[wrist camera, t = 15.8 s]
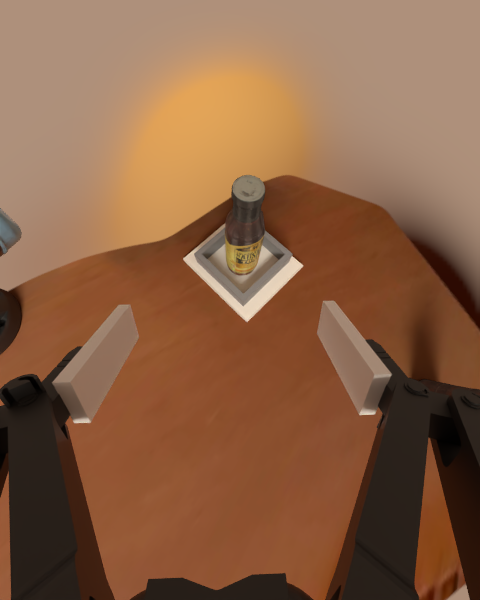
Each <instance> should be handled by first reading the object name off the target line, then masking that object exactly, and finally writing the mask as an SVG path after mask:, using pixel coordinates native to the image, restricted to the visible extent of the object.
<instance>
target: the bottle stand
mask: <svg viewBox="0 0 480 600" xmlns="http://www.w3.org/2000/svg"><path fill="white" fill-rule="evenodd" d="M292 255H293V254H292V253H291V252H290V251H289V250H287V249H286V248H285V247H284V246H283V245H282V244H280V243H279V242H278V241H277V240H276V239H275V238H273V237H272V236H271V235H270V234H269V233H268V232H266V231H265V234H264V239H263V243H262V247H261V251H260V256H259V260H258V263H257V266H256V267H255V269H254V270H253V271H252V272H251V273H250V274H248V275H242V276H241V275H236V274H234V273H232V272H231V271H230V270H229V268H228V266H227V262H226V247H225V224H223V225H222V226H221V227H220V228H219V229H218V230H216V231H215V232H214V233H213V234H212V235H211V236H209V237H208V238H207V239H206V240H205V241H203V242H202V243H201V244H200V245H199V246H198V247H196V248H195V249H194V250H193V251H192V252H190V253H189V254H188V255H187V256H186V257H185V258H183V260H184V261H185V262H186V263H187V264H188V265H189V266H190V267H191V268H192V269H193V270H194V271H195V272H196V273H197V274H198V275H199V276H200V277H201V278H202V279H203V280H204V281H205V282H206V283H207V284H208V285H209V286H210V287H211V288H212V289H213V290H214V291H215V292H216V293H217V294H218V295H219V296H220V297H221V298H222V299H223V300H224V301H225V302H226V303H227V304H228V305H229V306H230V307H231V308H233V309H234V310H235V311H236V312H237V313H238V314H239V315H240V316H241V317H242V318H243V319H244V320H245V321H246V322H248V321H249V320H250V319H251V318H252V317H253V316H254V315H255V314H256V313H257V312H258V311H259V310H260V309H261V308H262V307H263V306H264V305H265V304H266V303H267V302H268V301H269V300H270V299H271V298H272V297H273V296H274V295H275V294H276V293H277V292H278V291H279V290H280V289H281V288H282V287H283V286H284V285H285V284H286V283H287V282H288V281H289V280H290V279H291V278H292V277H293V276H294V275H295V274H296V273H297V272H298V271H299V270H300V269H301V268H302V267H303V265H302V264H301V263H300V262H298V261H297V260H296V259H295V258H294V257H293V256H292Z"/></svg>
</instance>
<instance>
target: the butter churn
mask: <svg viewBox="0 0 480 600" xmlns="http://www.w3.org/2000/svg"><path fill="white" fill-rule="evenodd" d="M419 382H421V383H423V384H424V385H425V386H426V387H428V389H429V390H430V391H432V392H436V393H441V394H445V395H450V394H451V392H452V391H453V390H454V389H466V390H469V391H471V392H474V393H476V394H478V395H479V396H480V390H479V389H471V388H466V387H461V386H455V385H450V384H446V383H441V382H436V381H431V380H427V379H422V380H420V381H419Z"/></svg>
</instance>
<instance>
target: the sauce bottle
mask: <svg viewBox="0 0 480 600" xmlns="http://www.w3.org/2000/svg"><path fill="white" fill-rule="evenodd" d="M264 196H265V186H264V184H263V182H262V181H261V180H260V179H259V178H257V177H255V176H251V175H245V176H241V177H239V178H238V179H236V180H235V181H234V183H233V186H232V199H233V209H232V210H231V211H230V212H229V213H228V215H227V218H226V221H225V247H226V262H227V266H228V268H229V270H230V271H231V272H232V273H234V274H236V275H241V276H242V275H248V274H250V273H251V272H252V271H253V270H254V269H255V267H256V266H257V263H258V260H259V256H260V251H261V247H262V243H263V239H264V234H265V227H264V218H263V212H262V211H261V204H262V202H263V200H264Z"/></svg>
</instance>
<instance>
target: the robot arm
mask: <svg viewBox="0 0 480 600" xmlns="http://www.w3.org/2000/svg"><path fill="white" fill-rule="evenodd" d="M20 238H21V230H20V228H19V226H18V225H17V224H16V223H15V222H14V221H13V220H12V219H11V218H10V217H9V216H8V215H7V214H6V213H4V211H3V210H2V209H1V208H0V256H2V255H3V254H5V253H7V251H8V249H9V248H11V247H12V246H13V245H14V244H15V243H16V242H18V240H20ZM20 322H21V310H20V306H19V304H18V302H17V300H16V298H15V297H14V296H13V295H12V294H10V293H9V292H7V291H5V290H2V289H0V354H1V353H3V352H4V351H5V350H6V349H7V348H8V346H9V345H10V344H11V343H12V341H13V340H14V338H15V336H16V334H17V332H18V330H19V326H20ZM317 334H318V336H319V338H320V340H321V342H322V344H323V346H324V348H325V350H326V352H327V354H328V355H329V357H330V359H331V361H332V363H333V365H334V367H335V369H336V371H337V373H338V375H339V377H340V379H341V380H342V382H343V384H344V386H345V388H346V390H347V392H348V394H349V396H350V398H351V400H352V402H353V403H354V405H355V407H356V409H357V411H358V413H359V415H373V414H375V413H376V410H377V408H378V407H379V408H380V410H381V411H382V413H383V414H382V417H381V419H380V421H379V423H378V426H377V428H378V429H377V433H376V436H375V440H374V443H373V446H372V450H371V453H370V456H369V460H368V463H367V467H366V470H365V473H364V477H363V480H362V483H361V487H360V490H359V494H358V497H357V500H356V504H355V507H354V510H353V514H352V517H351V520H350V524H349V527H348V531H347V534H346V537H345V541H344V544H343V547H342V551H341V554H340V558H339V561H338V564H337V568H336V571H335V573H334V576H333V579H332V581H331V584H330V587H329V590H328V593H327V596H326V599H325V600H419V596H418V594H417V592H416V590H415V585H414V579H415V568H416V557H417V547H418V537H419V527H420V517H421V506H422V496H423V486H424V476H425V465H426V455H427V445H428V437H429V438H430V439H431V443H432V447H433V451H434V455H435V460H436V464H437V468H438V472H439V476H440V480H441V484H442V488H443V492H444V496H445V500H446V504H447V508H448V512H449V516H450V520H451V524H452V529H453V533H454V537H455V541H456V545H457V549H458V553H459V557H460V561H461V565H462V569H463V573H464V577H465V581H466V585H467V589H468V593H469V597H470V600H480V396H479V395H478V394H476V393H474V392H471V391H469V390H466V389H454V390H453V391H452V392H451V394H450V395H445V394H441V393H436V392H432V391H430V390H429V389H428V387H426V386H425V385H424V384H423V383H421V382H419V381H417V380H414V379H411V378H408V377H407V376H406V375H405V374H404V372H403V371H402V370H401V369H400V368H399V366H398V365H397V364H396V363H395V362H394V361H393V359H391V357H390V356H389V355H388V354H387V353H386V351H385V350H384V349H383V348H382V347H381V345H379V344H378V343H376V342H375V341H373V340H365V339H364V338H363V337H362V336H361V334H360V333H359V332H358V330H357V329H356V328H355V327H354V325H353V324H352V323H351V322H350V320H349V319H348V318H347V316H346V315H345V314H344V313H343V311H342V310H341V309H340V308H339V306H338V305H337V304H336V302H335V301H323V304H322V310H321V315H320V320H319V326H318V331H317ZM138 338H139V335H138V332H137V328H136V324H135V321H134V317H133V313H132V309H131V306H130V305H118V306H117V308H116V309H115V310H114V311H113V312H112V313H111V315H110V316H109V317H108V318H107V319H106V320H105V322H104V323H103V324H102V325H101V326H100V327H99V329H98V330H97V331H96V332H95V333H94V334H93V336H92V337H91V338H90V339H89V340H88V341H87V342H86V344H85V345H84V346H82V347H76V348H75V349H74V350H72V351H71V352H69V353H68V354H67V355H66V356H65V357H64V358H63V359H62V361H61V362H60V363H59V364H58V365H57V367H55V368H54V369H53V370H52V372H51V373H50V374H49V375H48V376H47V377H46V378H45V379H44V380H43V381H42V383H41V381H40V379H39V378H38V376H37V375H34V374H27V375H23V376H20V377H17V378H15V379H13V380H11V381H9V382H8V383H7V384H5V385H4V386H3V387H2V388H1V389H0V399H1V400H2V402H3V403H4V404H5V405H3V406H0V497H1V493H2V490H3V487H4V483H5V480H6V477H7V474H8V470H9V510H10V559H11V600H115V599H114V596H113V593H112V591H111V589H110V586H109V584H108V581H107V579H106V575H105V572H104V568H103V564H102V560H101V556H100V552H99V548H98V544H97V540H96V536H95V532H94V529H93V525H92V521H91V517H90V513H89V509H88V505H87V501H86V497H85V493H84V490H83V486H82V482H81V478H80V474H79V470H78V466H77V462H76V458H75V454H74V450H73V447H72V443H71V439H70V435H69V431H68V427H67V425H66V424H65V422H66V421H67V419H68V418H69V416H71V418H72V419H73V421H74V423H91V421H92V419H93V417H94V416H95V414H96V412H97V410H98V409H99V407H100V405H101V403H102V402H103V400H104V398H105V396H106V395H107V393H108V391H109V389H110V388H111V386H112V384H113V382H114V380H115V379H116V377H117V375H118V373H119V372H120V370H121V368H122V366H123V365H124V363H125V361H126V359H127V358H128V356H129V354H130V352H131V351H132V349H133V347H134V345H135V343H136V342H137V340H138ZM130 600H313V599H312V598H311V597H310V596H309V595H307V594H306V593H305V592H303V591H302V590H301V589H299V588H297V587H295V586H294V585H291V584H289V583H287V581H286V574H285V573H282V574H259V575H251V576H248V577H246V578H244V579H242V580H240V581H237V582H235V583H233V584H231V585H229V586H227V587H224V588H222V589H220V590H213V589H210V588H208V587H205V586H202V585H200V584H197V583H195V582H192V581H189V580H187V579H184V578H164V579H148V583H147V588H146V590H144V591H142V592H140V593H139V594H137V595H136V596H134V597H133V598H131V599H130Z"/></svg>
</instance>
